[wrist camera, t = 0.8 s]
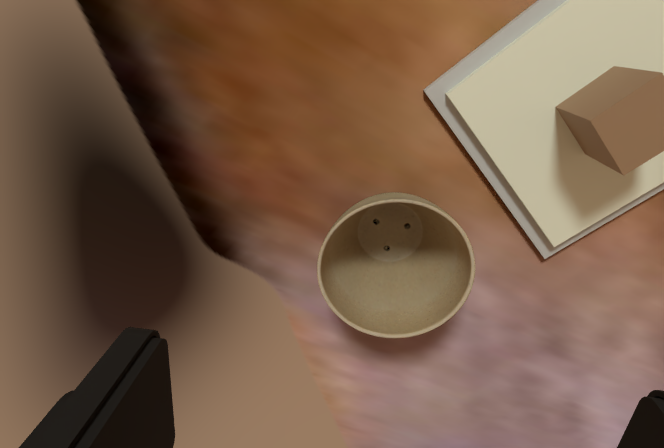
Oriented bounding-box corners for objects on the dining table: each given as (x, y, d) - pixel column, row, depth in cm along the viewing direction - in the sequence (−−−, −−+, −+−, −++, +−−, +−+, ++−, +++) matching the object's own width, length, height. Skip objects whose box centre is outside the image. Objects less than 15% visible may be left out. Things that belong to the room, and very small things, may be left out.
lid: (649, -64, 26) (721, -88, 21) (744, 126, 30) (826, 146, 24) (445, 93, 30) (461, 106, 25) (550, 242, 34) (584, 281, 29)
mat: (652, -90, 26) (658, -93, 26) (758, 126, 30) (765, 128, 30) (423, 90, 31) (424, 91, 30) (542, 255, 35) (544, 259, 34)
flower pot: (478, 246, 35) (503, 295, 29) (369, 303, 38) (370, 360, 31) (413, 140, 32) (425, 168, 26) (301, 210, 35) (285, 251, 28)
